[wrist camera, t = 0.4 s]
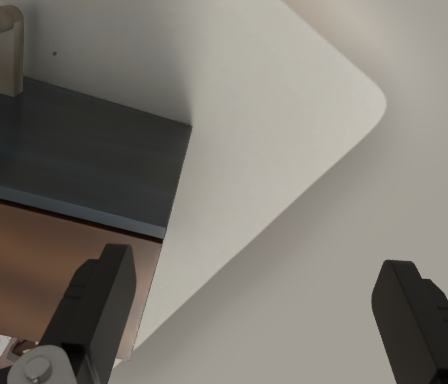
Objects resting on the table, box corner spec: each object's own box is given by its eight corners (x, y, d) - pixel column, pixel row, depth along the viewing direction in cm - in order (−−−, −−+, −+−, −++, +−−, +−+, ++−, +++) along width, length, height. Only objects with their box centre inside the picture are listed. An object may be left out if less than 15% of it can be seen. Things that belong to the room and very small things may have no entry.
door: (7, -8, 31) (-171, 24, 18) (211, 57, 34) (194, 130, 20) (8, 82, 36) (-137, 164, 22) (190, 134, 38) (163, 239, 24)
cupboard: (9, 84, 36) (-138, 169, 22) (189, 136, 38) (162, 244, 24) (9, 194, 43) (-103, 314, 29) (163, 233, 45) (129, 361, 31)
